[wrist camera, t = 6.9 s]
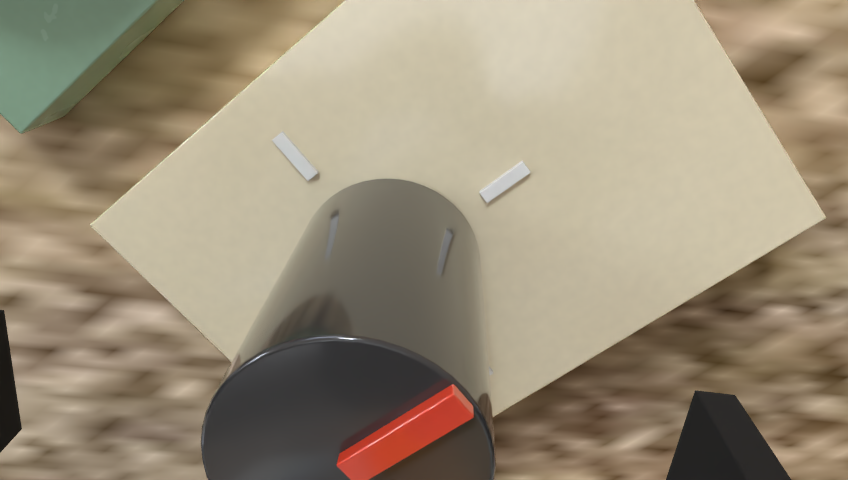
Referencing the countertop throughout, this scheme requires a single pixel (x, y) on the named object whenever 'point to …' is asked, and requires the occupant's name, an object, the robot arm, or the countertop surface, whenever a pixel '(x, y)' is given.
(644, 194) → the hob console
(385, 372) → the hob knob
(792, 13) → the countertop surface
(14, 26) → the red push button panel
